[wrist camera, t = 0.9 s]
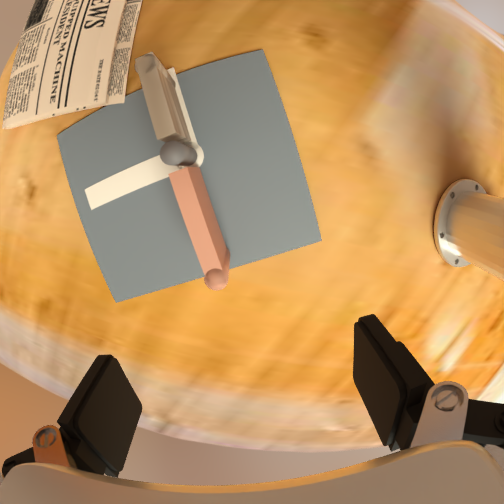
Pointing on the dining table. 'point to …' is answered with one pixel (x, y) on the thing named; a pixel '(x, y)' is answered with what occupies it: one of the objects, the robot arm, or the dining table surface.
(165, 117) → the fence fixed
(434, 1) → the dining table surface
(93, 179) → the card
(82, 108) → the newspaper
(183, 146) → the fence panel
